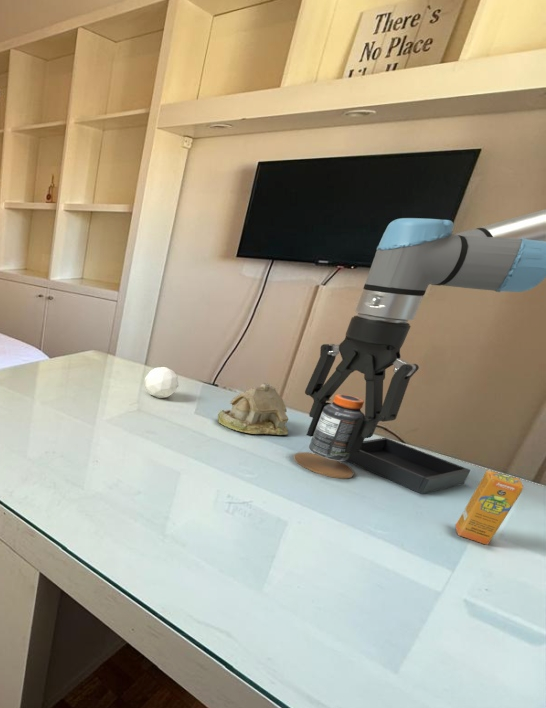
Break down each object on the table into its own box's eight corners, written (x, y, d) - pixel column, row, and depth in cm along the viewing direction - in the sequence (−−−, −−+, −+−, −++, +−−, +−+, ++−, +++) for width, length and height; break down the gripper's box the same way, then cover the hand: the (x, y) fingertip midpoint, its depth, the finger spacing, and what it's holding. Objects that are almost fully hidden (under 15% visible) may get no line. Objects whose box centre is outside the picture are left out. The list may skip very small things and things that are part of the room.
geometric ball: (146, 404, 117) (135, 375, 118) (176, 394, 117) (164, 366, 118) (157, 400, 109) (145, 369, 111) (189, 389, 109) (176, 359, 111)
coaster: (364, 475, 82) (365, 473, 82) (332, 481, 79) (333, 479, 79) (313, 452, 90) (314, 450, 90) (282, 457, 87) (283, 455, 87)
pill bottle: (345, 452, 85) (368, 396, 81) (350, 465, 80) (375, 406, 76) (306, 443, 88) (327, 388, 84) (309, 454, 83) (331, 397, 79)
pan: (463, 484, 82) (471, 469, 81) (421, 494, 77) (428, 479, 76) (379, 450, 93) (385, 437, 92) (338, 457, 89) (344, 444, 88)
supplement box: (456, 535, 66) (489, 476, 63) (454, 526, 69) (485, 468, 65) (489, 547, 64) (525, 486, 61) (486, 536, 67) (520, 477, 63)
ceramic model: (252, 414, 108) (265, 374, 104) (298, 435, 98) (314, 391, 94) (207, 418, 103) (219, 376, 100) (250, 440, 93) (265, 395, 90)
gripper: (308, 307, 82) (268, 423, 90) (441, 332, 65) (378, 471, 74) (335, 307, 85) (294, 420, 93) (469, 331, 68) (405, 466, 76)
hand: (331, 442), depth 83 cm, fingers closed on pill bottle, 6 cm apart
